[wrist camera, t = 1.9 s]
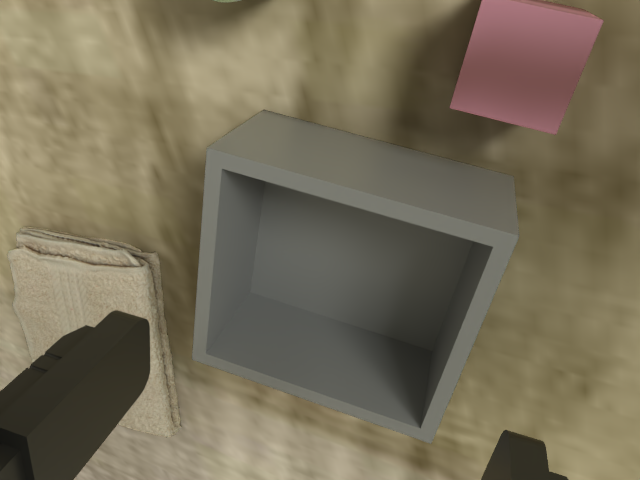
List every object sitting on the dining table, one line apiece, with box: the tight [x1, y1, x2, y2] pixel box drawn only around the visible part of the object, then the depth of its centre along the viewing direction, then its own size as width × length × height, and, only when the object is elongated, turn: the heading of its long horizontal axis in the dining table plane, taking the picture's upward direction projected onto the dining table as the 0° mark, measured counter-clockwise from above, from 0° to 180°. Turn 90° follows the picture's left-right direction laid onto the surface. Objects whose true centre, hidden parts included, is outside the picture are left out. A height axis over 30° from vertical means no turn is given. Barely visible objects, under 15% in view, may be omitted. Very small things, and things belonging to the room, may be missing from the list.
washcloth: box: [7, 227, 182, 438], centre depth 41 cm, size 12×18×3 cm, turn 179°
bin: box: [192, 110, 519, 444], centre depth 29 cm, size 13×14×7 cm
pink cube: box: [450, 0, 604, 135], centre depth 23 cm, size 4×4×5 cm
